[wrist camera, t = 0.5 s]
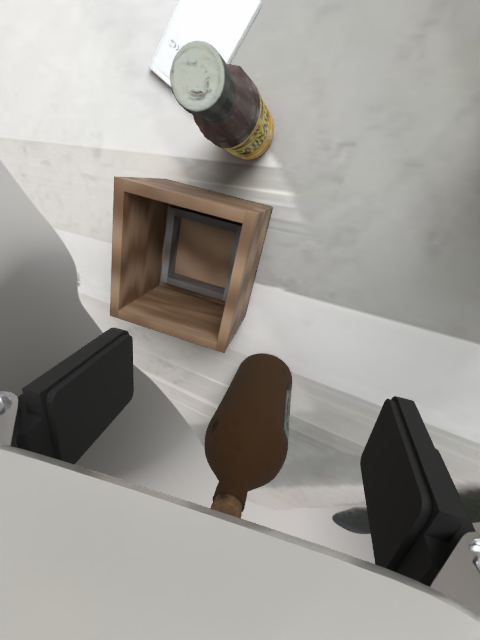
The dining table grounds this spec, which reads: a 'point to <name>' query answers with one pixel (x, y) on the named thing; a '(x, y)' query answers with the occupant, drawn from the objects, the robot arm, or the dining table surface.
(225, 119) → the sauce bottle
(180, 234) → the walled box
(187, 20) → the external hard drive
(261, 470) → the olive oil
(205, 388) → the dining table surface
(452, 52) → the dining table surface
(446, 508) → the robot arm
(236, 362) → the dining table surface
